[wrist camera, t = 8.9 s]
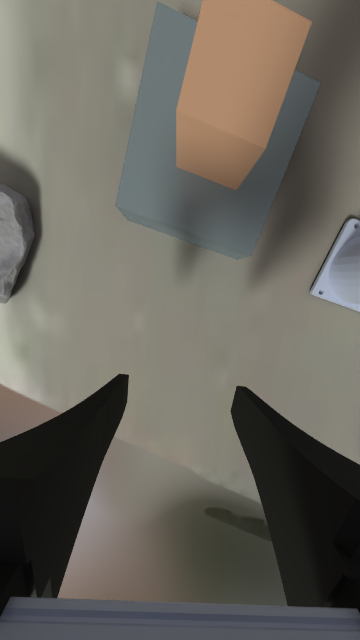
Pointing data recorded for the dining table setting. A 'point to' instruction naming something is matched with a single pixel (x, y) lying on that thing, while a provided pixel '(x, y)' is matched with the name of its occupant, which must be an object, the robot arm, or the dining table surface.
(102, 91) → the dining table surface
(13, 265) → the stone block
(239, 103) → the terracotta block
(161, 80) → the slate box
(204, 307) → the dining table surface
